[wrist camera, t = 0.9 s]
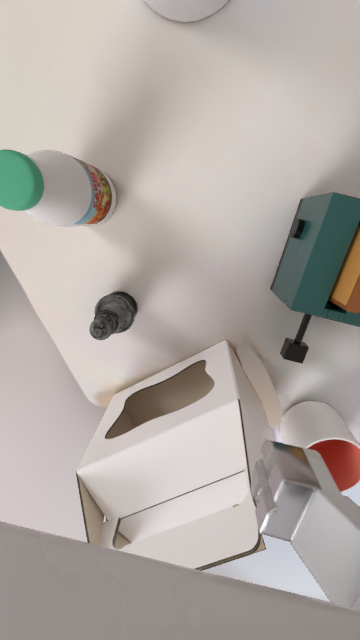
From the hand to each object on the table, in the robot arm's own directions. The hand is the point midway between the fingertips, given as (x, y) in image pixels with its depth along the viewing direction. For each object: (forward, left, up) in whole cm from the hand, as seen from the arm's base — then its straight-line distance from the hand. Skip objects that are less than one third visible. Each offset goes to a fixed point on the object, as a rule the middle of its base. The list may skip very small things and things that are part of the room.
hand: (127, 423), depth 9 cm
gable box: (+23, +6, -39) cm, 45 cm away
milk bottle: (-5, -15, -39) cm, 42 cm away
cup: (+22, +27, -39) cm, 52 cm away
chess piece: (+10, -8, -39) cm, 41 cm away
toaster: (-5, +18, -39) cm, 43 cm away
